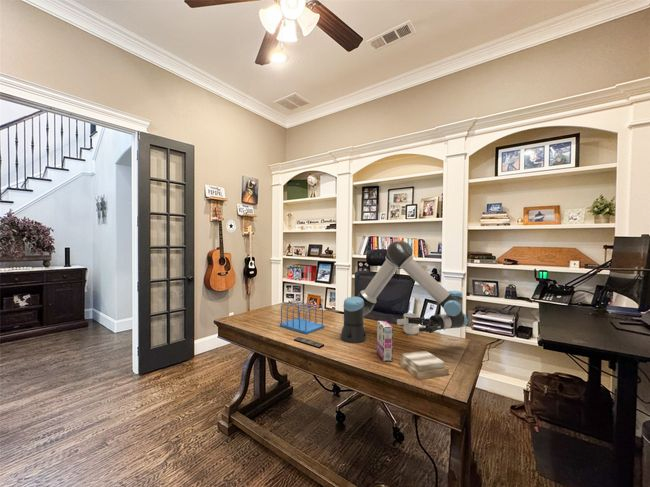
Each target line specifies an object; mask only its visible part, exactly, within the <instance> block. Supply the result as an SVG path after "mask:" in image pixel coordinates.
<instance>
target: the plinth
mask: <svg viewBox="0 0 650 487" xmlns="http://www.w3.org/2000/svg"><path fill="white" fill-rule="evenodd" d="M398 364H399V365H400V366H401V367H402V368H404V370H406V371H407V372H408V373H409V374H410V375H412V376H413V377H415V378H416V379H417V380H425V379H429V378H430V379H431V378H437V377H442V376H449V375H450V373H449V372H450V369H449V368H448V367H447V366H446V362H445V361H444V360H442V359H440V358H438V357H437V356H435V355H434V354H432V353H430V352H429V351H427V350H421V351H414V352H406V353H405V352H403V353H402V354H401V358H398ZM424 378H425V379H424Z"/></svg>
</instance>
